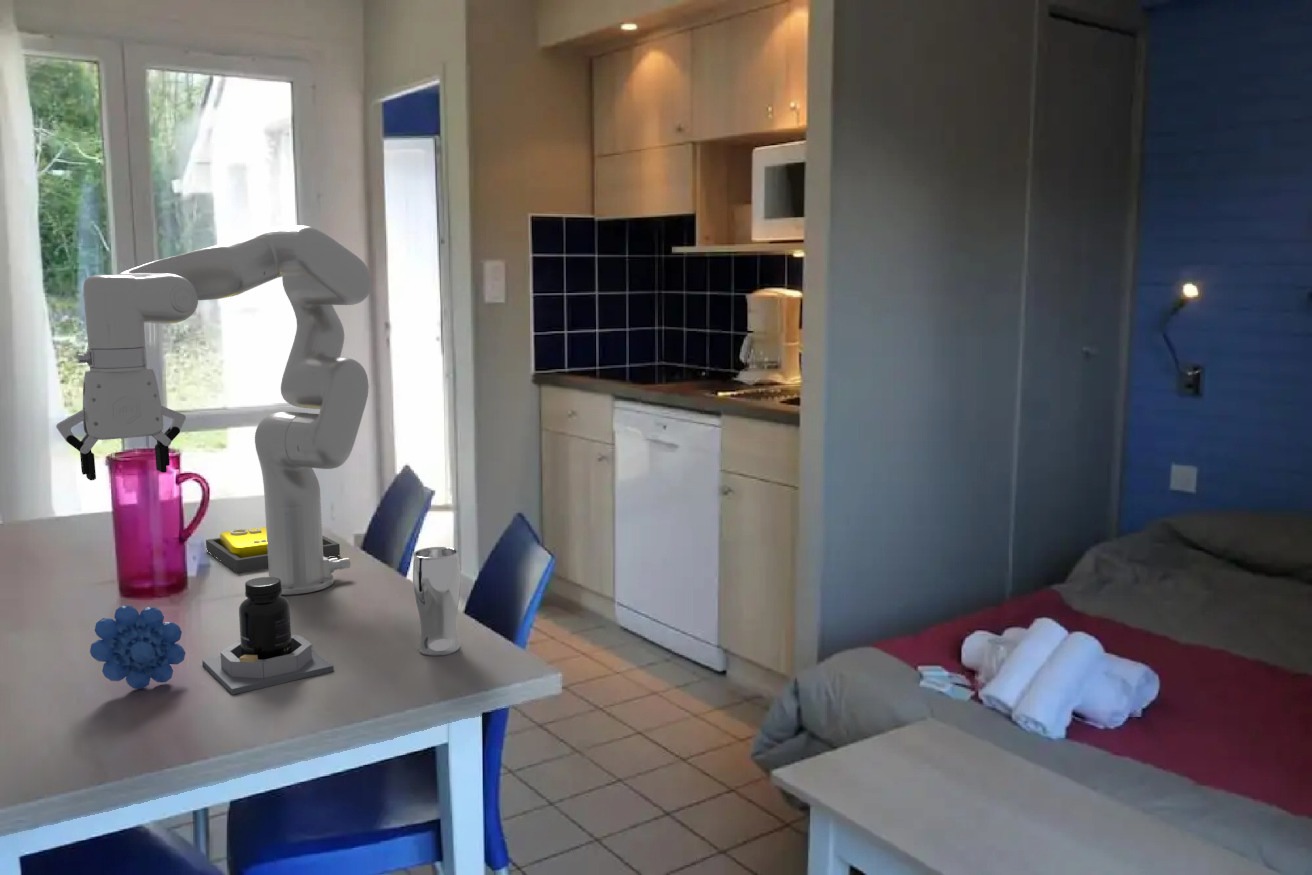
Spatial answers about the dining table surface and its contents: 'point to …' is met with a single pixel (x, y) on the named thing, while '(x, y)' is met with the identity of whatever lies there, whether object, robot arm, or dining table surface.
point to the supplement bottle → (265, 619)
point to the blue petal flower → (137, 646)
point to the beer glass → (437, 598)
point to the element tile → (245, 542)
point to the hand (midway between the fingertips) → (127, 475)
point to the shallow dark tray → (258, 561)
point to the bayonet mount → (265, 667)
